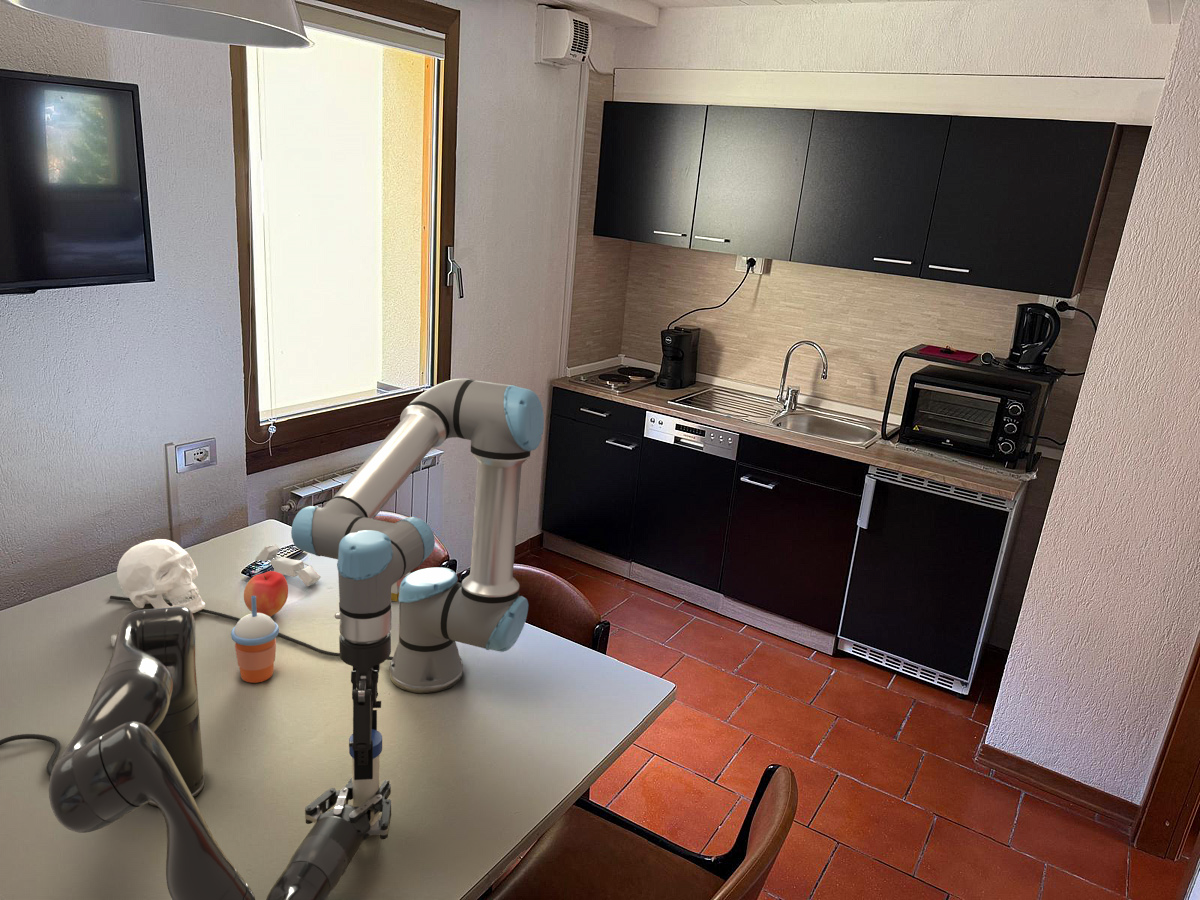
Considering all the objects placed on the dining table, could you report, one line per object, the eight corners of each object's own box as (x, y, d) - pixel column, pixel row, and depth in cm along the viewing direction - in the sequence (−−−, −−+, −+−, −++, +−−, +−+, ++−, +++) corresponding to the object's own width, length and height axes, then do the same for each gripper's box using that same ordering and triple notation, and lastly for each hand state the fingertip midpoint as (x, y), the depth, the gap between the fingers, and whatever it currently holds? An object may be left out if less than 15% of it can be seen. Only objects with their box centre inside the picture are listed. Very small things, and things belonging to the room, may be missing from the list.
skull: (183, 627, 192) (180, 562, 188) (105, 607, 198) (100, 543, 194) (224, 603, 205) (222, 542, 200) (149, 585, 210) (146, 525, 206)
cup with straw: (264, 690, 172) (261, 610, 167) (223, 682, 173) (219, 602, 168) (289, 667, 180) (286, 590, 175) (250, 659, 182) (246, 583, 177)
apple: (273, 600, 207) (272, 562, 204) (297, 613, 202) (296, 575, 199) (237, 614, 200) (234, 575, 197) (261, 628, 194) (259, 588, 191)
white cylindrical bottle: (347, 827, 138) (346, 742, 134) (369, 814, 142) (369, 730, 137) (362, 840, 136) (362, 754, 131) (384, 827, 139) (384, 742, 134)
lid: (384, 740, 137) (384, 729, 136) (379, 761, 132) (379, 748, 132) (352, 740, 137) (352, 728, 136) (346, 760, 132) (346, 748, 131)
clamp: (253, 565, 223) (254, 542, 221) (265, 560, 226) (266, 537, 224) (309, 593, 215) (310, 569, 213) (320, 588, 218) (321, 564, 216)
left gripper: (368, 846, 121) (415, 770, 137) (275, 827, 123) (332, 754, 139) (368, 889, 123) (414, 809, 139) (277, 869, 125) (332, 792, 142)
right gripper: (347, 601, 137) (348, 724, 144) (330, 669, 118) (333, 806, 125) (395, 601, 138) (394, 722, 145) (386, 668, 119) (385, 804, 126)
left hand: (373, 782), depth 139 cm, fingers closed on white cylindrical bottle, 4 cm apart
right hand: (365, 761), depth 135 cm, fingers open, 7 cm apart
